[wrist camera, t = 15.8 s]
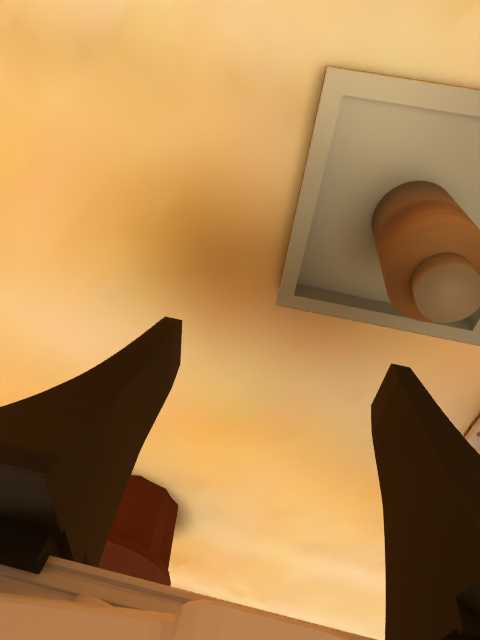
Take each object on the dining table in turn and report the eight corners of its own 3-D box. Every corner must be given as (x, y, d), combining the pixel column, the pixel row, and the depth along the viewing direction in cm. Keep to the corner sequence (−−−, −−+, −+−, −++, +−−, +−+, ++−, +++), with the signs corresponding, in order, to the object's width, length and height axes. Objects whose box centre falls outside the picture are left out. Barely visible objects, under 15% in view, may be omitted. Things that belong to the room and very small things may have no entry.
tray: (468, 324, 22) (480, 346, 20) (279, 286, 22) (276, 304, 21) (596, 107, 15) (629, 114, 14) (327, 65, 16) (327, 66, 14)
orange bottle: (439, 259, 19) (487, 349, 13) (364, 250, 19) (378, 333, 14) (466, 184, 17) (538, 251, 11) (381, 177, 17) (407, 237, 12)
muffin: (61, 480, 40) (-6, 590, 32) (128, 450, 34) (69, 572, 26) (143, 538, 44) (102, 647, 36) (214, 518, 39) (185, 642, 31)
